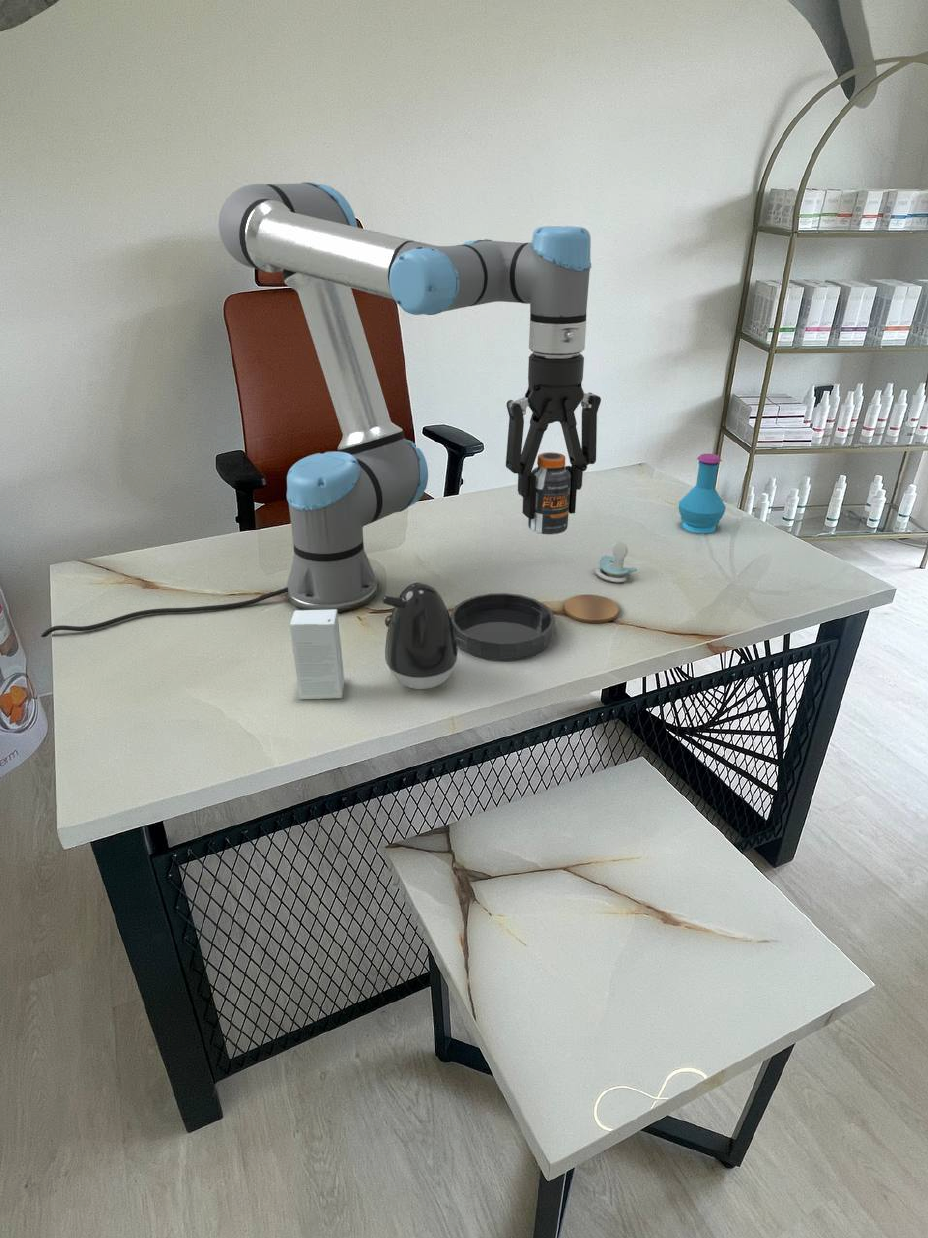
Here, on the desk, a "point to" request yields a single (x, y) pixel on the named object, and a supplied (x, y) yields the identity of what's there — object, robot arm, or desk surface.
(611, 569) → the pacifier
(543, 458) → the pill bottle
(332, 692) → the cosmetic box
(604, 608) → the coaster
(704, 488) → the perfume bottle
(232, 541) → the desk surface
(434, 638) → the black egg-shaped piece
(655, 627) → the desk surface
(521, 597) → the pan
